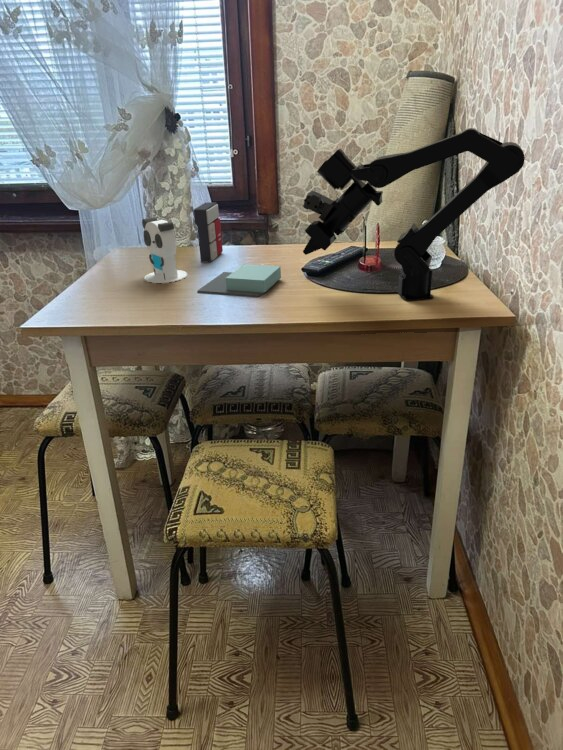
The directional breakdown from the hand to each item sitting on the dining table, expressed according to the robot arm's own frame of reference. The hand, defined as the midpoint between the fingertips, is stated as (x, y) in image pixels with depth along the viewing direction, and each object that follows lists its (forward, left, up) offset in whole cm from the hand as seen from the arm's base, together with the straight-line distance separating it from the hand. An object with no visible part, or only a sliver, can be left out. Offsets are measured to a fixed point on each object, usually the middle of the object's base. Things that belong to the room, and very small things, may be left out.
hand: (304, 253), depth 135 cm
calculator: (+21, -36, -9) cm, 43 cm away
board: (+7, -4, -7) cm, 11 cm away
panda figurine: (+34, -20, -9) cm, 41 cm away
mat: (+15, -8, -9) cm, 19 cm away
